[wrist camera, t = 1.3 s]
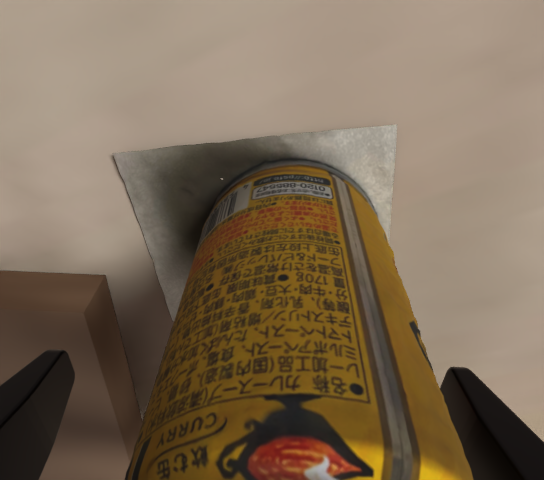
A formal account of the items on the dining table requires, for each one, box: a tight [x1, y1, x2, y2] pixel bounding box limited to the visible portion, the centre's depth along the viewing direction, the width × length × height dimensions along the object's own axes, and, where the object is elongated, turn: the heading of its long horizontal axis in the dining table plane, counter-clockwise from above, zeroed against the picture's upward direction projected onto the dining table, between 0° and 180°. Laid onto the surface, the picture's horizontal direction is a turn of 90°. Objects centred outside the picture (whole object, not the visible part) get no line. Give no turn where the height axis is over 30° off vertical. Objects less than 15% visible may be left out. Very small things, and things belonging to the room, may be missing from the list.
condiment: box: [113, 125, 473, 480], centre depth 9 cm, size 7×8×12 cm
